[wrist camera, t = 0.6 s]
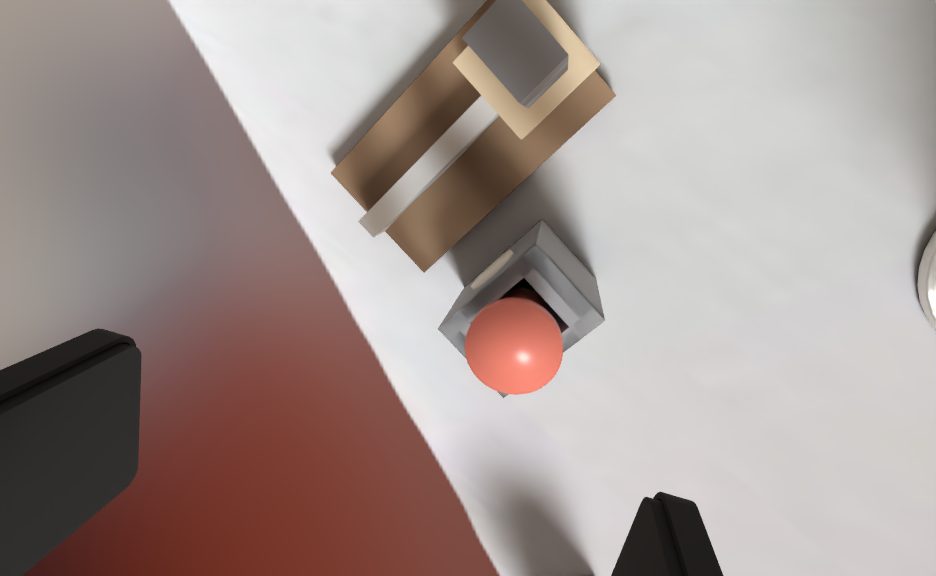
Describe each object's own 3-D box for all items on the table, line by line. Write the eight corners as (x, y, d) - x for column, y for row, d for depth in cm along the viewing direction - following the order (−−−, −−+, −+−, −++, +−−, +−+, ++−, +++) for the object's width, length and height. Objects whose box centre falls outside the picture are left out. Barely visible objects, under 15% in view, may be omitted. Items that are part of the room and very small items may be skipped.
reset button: (525, 255, 33) (516, 283, 27) (580, 316, 33) (583, 356, 27) (465, 306, 34) (445, 343, 29) (518, 363, 35) (509, 411, 29)
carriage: (532, -4, 33) (519, -60, 23) (596, 70, 33) (609, 46, 24) (464, 69, 35) (424, 46, 25) (525, 138, 35) (510, 142, 25)
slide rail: (514, -21, 34) (507, -39, 31) (614, 96, 35) (620, 92, 32) (338, 171, 40) (315, 175, 36) (428, 267, 41) (415, 281, 37)
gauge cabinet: (539, 216, 38) (532, 240, 30) (596, 279, 39) (604, 320, 31) (461, 284, 41) (434, 325, 32) (515, 343, 42) (503, 397, 33)
